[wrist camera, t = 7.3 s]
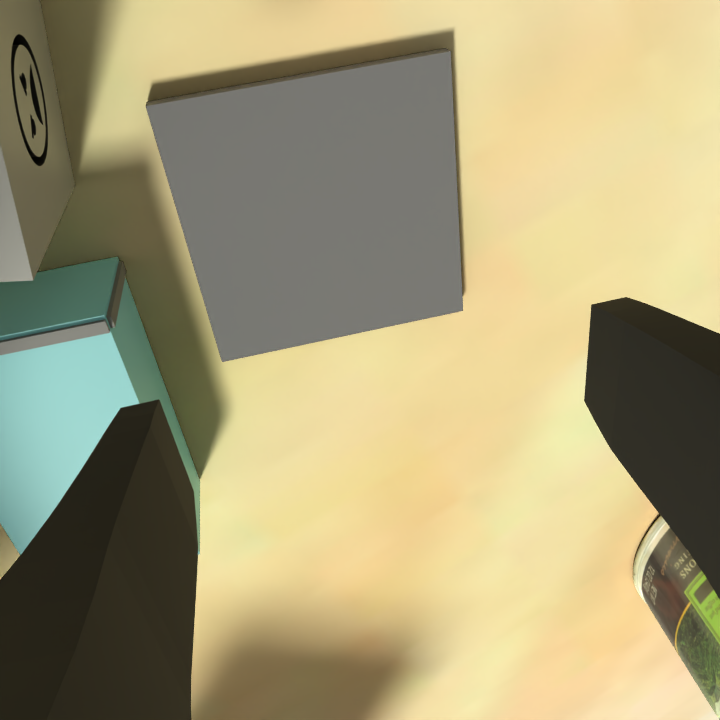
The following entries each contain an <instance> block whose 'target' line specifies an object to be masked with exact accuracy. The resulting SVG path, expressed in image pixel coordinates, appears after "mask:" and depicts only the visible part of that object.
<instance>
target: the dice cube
mask: <svg viewBox="0 0 720 720" xmlns="http://www.w3.org/2000/svg"><path fill="white" fill-rule="evenodd" d="M74 187H75V182H74V177H73V172H72V166H71V161H70V156H69V150H68V145H67V140H66V135H65V129H64V124H63V119H62V113H61V108H60V103H59V97H58V92H57V87H56V82H55V76H54V71H53V66H52V60H51V55H50V50H49V44H48V39H47V34H46V29H45V23H44V18H43V13H42V7H41V2H40V0H0V282H12V281H33V280H34V278H35V276H36V273H37V271H38V269H39V267H40V264H41V262H42V260H43V257H44V255H45V253H46V251H47V248H48V246H49V244H50V242H51V239H52V237H53V235H54V233H55V230H56V228H57V226H58V224H59V221H60V219H61V217H62V215H63V212H64V210H65V208H66V205H67V203H68V201H69V199H70V196H71V194H72V192H73V190H74Z"/></svg>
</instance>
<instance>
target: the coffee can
mask: <svg viewBox="0 0 720 720" xmlns="http://www.w3.org/2000/svg"><path fill="white" fill-rule="evenodd" d="M633 580H634V584H635V587H636V589H637V592H638V594H639V595H640V597H641V598H642V599H643V600H644V601H645V603H646V604H647V605H648V606H649V608H650V609H651V611H652V613H653V614H654V616H655V618H656V619H657V621H658V622H659V624H660V626H661V627H662V629H663V630H664V632H665V634H666V635H667V637H668V639H669V640H670V642H671V643H672V645H673V646H674V648H675V650H676V651H677V653H678V655H679V656H680V658H681V659H682V661H683V662H684V664H685V666H686V667H687V669H688V670H689V672H690V674H691V675H692V677H693V679H694V680H695V682H696V683H697V685H698V686H699V688H700V690H701V691H702V693H703V694H704V696H705V698H706V699H707V701H708V702H709V704H710V705H711V707H712V709H713V710H714V712H715V713H716V715H717V717H718V718H719V720H720V599H719V598H718V596H717V594H716V593H715V591H714V589H713V588H712V586H711V585H710V583H709V581H708V580H707V578H706V576H705V575H704V573H703V572H702V570H701V569H700V568H699V566H698V565H697V563H696V562H695V560H694V559H693V558H692V556H691V555H690V553H689V552H688V550H687V549H686V548H685V546H684V545H683V544H682V543H681V541H680V540H679V539H678V537H677V536H676V535H675V533H674V532H673V531H672V529H671V528H670V527H669V526H668V524H667V523H666V522H665V520H664V519H663V518H662V516H660V517H658V519H657V520H656V521H655V522H654V523H653V525H652V526H651V528H650V529H649V531H648V532H647V534H646V535H645V537H644V539H643V540H642V542H641V544H640V547H639V549H638V551H637V554H636V557H635V560H634V565H633Z"/></svg>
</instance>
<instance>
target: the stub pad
mask: <svg viewBox="0 0 720 720" xmlns="http://www.w3.org/2000/svg"><path fill="white" fill-rule="evenodd" d="M146 109H147V112H148V116H149V119H150V122H151V126H152V129H153V132H154V136H155V139H156V142H157V146H158V149H159V152H160V156H161V159H162V162H163V166H164V169H165V172H166V176H167V179H168V183H169V186H170V189H171V193H172V196H173V199H174V203H175V206H176V209H177V213H178V216H179V219H180V223H181V226H182V229H183V233H184V236H185V239H186V243H187V246H188V250H189V253H190V256H191V260H192V263H193V266H194V270H195V273H196V276H197V280H198V283H199V286H200V290H201V293H202V296H203V300H204V303H205V306H206V310H207V313H208V316H209V320H210V323H211V327H212V330H213V333H214V337H215V340H216V343H217V347H218V350H219V353H220V357H221V360H222V362H225V361H229V360H234V359H239V358H243V357H248V356H253V355H257V354H262V353H267V352H272V351H276V350H281V349H286V348H290V347H295V346H300V345H304V344H309V343H314V342H318V341H323V340H328V339H333V338H337V337H342V336H347V335H351V334H356V333H361V332H365V331H370V330H375V329H380V328H384V327H389V326H394V325H398V324H403V323H408V322H412V321H417V320H422V319H427V318H431V317H436V316H441V315H445V314H450V313H455V312H459V311H463V298H462V278H461V257H460V236H459V215H458V194H457V173H456V153H455V132H454V111H453V90H452V69H451V51H449V50H448V49H446V48H444V49H438V50H432V51H427V52H421V53H416V54H410V55H405V56H399V57H394V58H388V59H382V60H377V61H371V62H366V63H360V64H355V65H349V66H343V67H338V68H332V69H327V70H321V71H316V72H310V73H305V74H299V75H293V76H288V77H282V78H277V79H271V80H266V81H260V82H254V83H249V84H243V85H238V86H232V87H227V88H221V89H216V90H210V91H204V92H199V93H193V94H188V95H182V96H177V97H171V98H165V99H160V100H154V101H149V102H147V103H146Z"/></svg>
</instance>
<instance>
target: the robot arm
mask: <svg viewBox="0 0 720 720" xmlns="http://www.w3.org/2000/svg"><path fill="white" fill-rule="evenodd" d="M584 401H585V403H586V405H587V407H588V409H589V411H590V413H591V414H592V416H593V418H594V420H595V422H596V424H597V426H598V428H599V429H600V431H601V433H602V435H603V436H604V438H605V440H606V442H607V443H608V445H609V447H610V448H611V450H612V451H613V453H614V454H615V455H616V457H617V458H618V460H619V461H620V462H621V464H622V465H623V466H624V468H625V469H626V470H627V472H628V473H629V474H630V476H631V477H632V478H633V480H634V481H635V482H636V484H637V485H638V486H639V488H640V489H641V490H642V491H643V493H644V494H645V495H646V497H647V498H648V499H649V501H650V502H651V503H652V505H653V506H654V507H655V509H656V510H657V511H658V512H659V514H660V515H661V516H662V518H663V519H664V520H665V522H666V523H667V524H668V526H669V527H670V528H671V529H672V531H673V532H674V533H675V535H676V536H677V537H678V539H679V540H680V541H681V543H682V544H683V545H684V546H685V548H686V549H687V550H688V552H689V553H690V555H691V556H692V558H693V559H694V560H695V562H696V563H697V565H698V566H699V568H700V569H701V570H702V572H703V573H704V575H705V576H706V578H707V580H708V581H709V583H710V585H711V586H712V588H713V589H714V591H715V593H716V594H717V596H718V598H719V599H720V334H719V333H716V332H714V331H712V330H709V329H707V328H704V327H702V326H699V325H697V324H695V323H692V322H690V321H687V320H685V319H683V318H680V317H678V316H675V315H673V314H670V313H668V312H666V311H663V310H661V309H658V308H656V307H653V306H650V305H648V304H645V303H642V302H639V301H637V300H633V299H630V298H627V297H625V298H620V299H615V300H611V301H606V302H602V303H597V304H593V305H591V319H590V332H589V345H588V359H587V372H586V385H585V399H584ZM197 562H198V537H197V522H196V510H195V498H194V490H193V487H192V485H191V482H190V479H189V477H188V474H187V471H186V469H185V466H184V463H183V461H182V458H181V455H180V453H179V450H178V447H177V445H176V442H175V439H174V437H173V434H172V432H171V429H170V426H169V424H168V421H167V418H166V416H165V413H164V410H163V408H162V405H161V402H160V400H159V399H158V400H154V401H149V402H145V403H140V404H135V405H131V406H126V407H122V408H120V410H119V411H118V413H117V414H116V416H115V417H114V419H113V420H112V422H111V423H110V425H109V426H108V428H107V429H106V431H105V432H104V434H103V436H102V437H101V439H100V440H99V442H98V444H97V445H96V447H95V448H94V450H93V452H92V453H91V455H90V456H89V458H88V459H87V461H86V463H85V464H84V466H83V467H82V469H81V470H80V472H79V474H78V475H77V476H76V478H75V479H74V481H73V482H72V484H71V485H70V487H69V488H68V490H67V491H66V493H65V494H64V496H63V497H62V499H61V500H60V502H59V503H58V505H57V506H56V508H55V509H54V511H53V512H52V514H51V515H50V516H49V518H48V519H47V520H46V522H45V523H44V524H43V526H42V527H41V528H40V530H39V531H38V532H37V534H36V535H35V536H34V538H33V539H32V541H31V542H30V543H29V545H28V546H27V547H26V549H25V550H24V551H23V553H22V554H21V555H20V556H19V558H18V559H17V560H16V561H15V563H14V564H13V565H12V566H11V568H10V569H9V570H8V571H7V572H6V574H5V575H4V576H3V577H2V578H1V580H0V720H191V670H192V653H193V635H194V618H195V600H196V582H197Z"/></svg>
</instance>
